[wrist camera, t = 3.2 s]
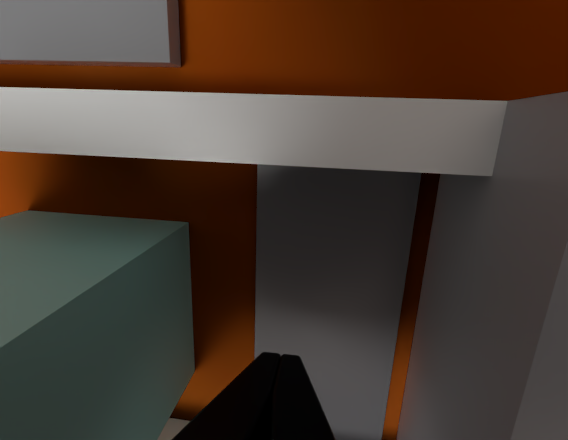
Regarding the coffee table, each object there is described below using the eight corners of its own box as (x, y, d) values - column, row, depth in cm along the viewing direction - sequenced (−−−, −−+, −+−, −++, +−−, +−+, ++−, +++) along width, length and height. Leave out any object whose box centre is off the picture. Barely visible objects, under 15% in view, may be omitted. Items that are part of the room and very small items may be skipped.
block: (189, 222, 9) (-171, 461, 3) (195, 370, 11) (-32, 782, 4) (29, 209, 10) (-609, 382, 3) (53, 352, 11) (-355, 686, 4)
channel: (506, 111, 7) (748, 87, 3) (428, 484, 11) (497, 728, 6) (-75, 94, 9) (-429, 62, 5) (4, 419, 12) (-172, 577, 8)
